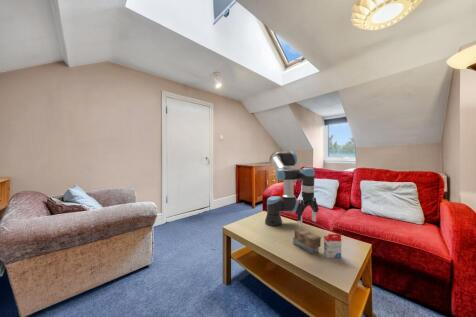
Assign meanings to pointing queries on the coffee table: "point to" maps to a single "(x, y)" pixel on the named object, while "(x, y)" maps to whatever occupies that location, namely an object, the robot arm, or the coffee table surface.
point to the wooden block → (308, 238)
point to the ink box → (332, 245)
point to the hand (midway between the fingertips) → (307, 223)
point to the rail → (305, 247)
